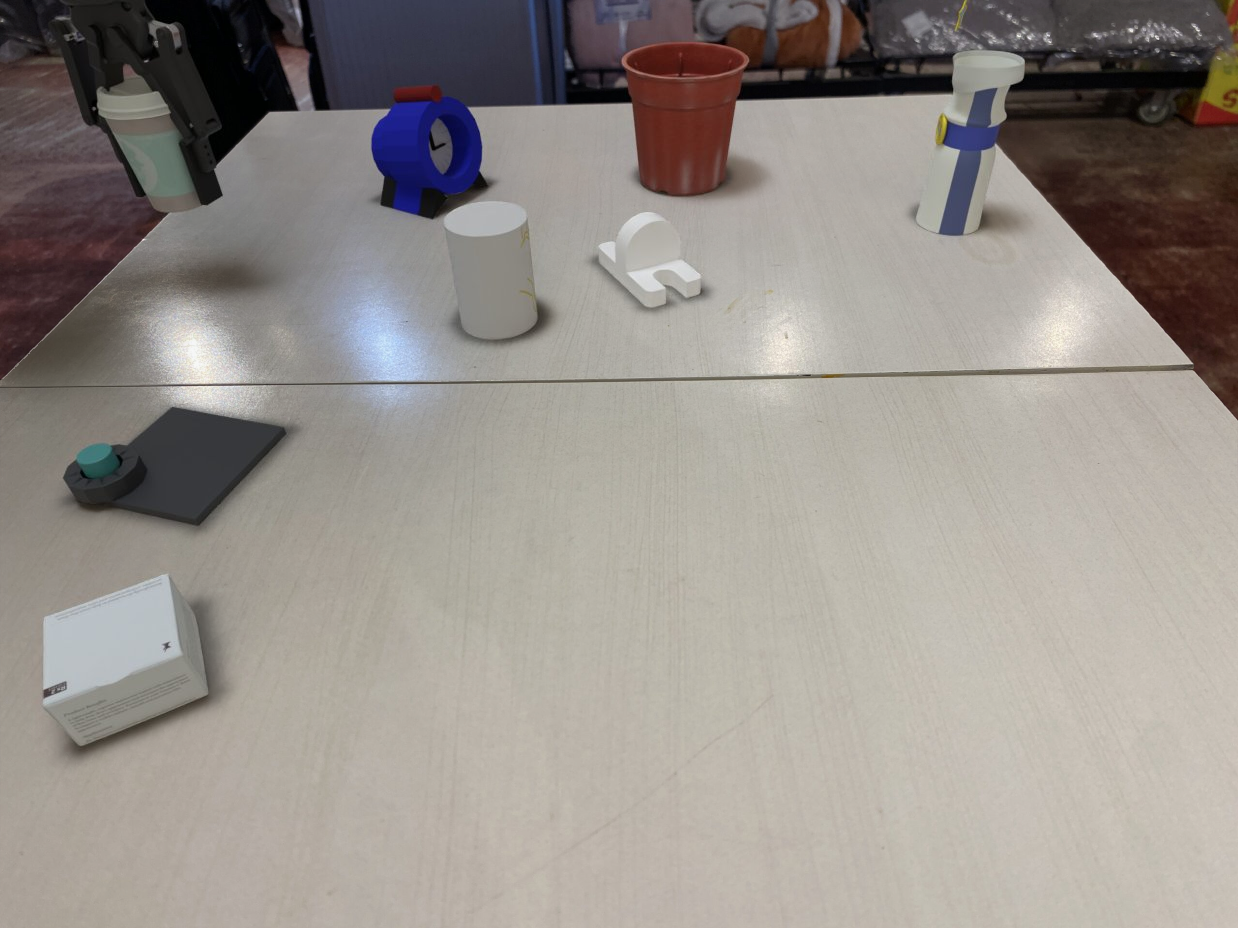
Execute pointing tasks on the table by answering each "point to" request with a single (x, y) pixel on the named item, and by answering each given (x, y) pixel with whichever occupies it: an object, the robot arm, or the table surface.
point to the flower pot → (683, 112)
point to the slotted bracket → (649, 260)
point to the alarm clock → (426, 150)
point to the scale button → (98, 460)
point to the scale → (179, 465)
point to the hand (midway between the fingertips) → (179, 196)
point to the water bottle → (967, 140)
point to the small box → (121, 660)
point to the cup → (492, 268)
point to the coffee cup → (149, 143)
